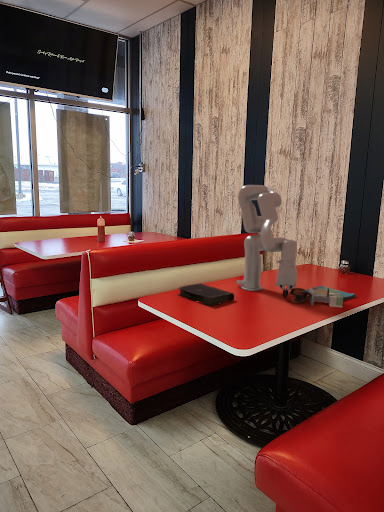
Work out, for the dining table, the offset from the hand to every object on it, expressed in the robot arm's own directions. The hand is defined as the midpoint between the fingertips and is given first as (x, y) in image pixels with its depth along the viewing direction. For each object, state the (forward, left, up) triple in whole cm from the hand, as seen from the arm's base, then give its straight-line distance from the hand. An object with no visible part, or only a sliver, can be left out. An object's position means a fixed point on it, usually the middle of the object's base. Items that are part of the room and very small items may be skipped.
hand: (285, 297), depth 204 cm
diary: (-42, -9, -2) cm, 43 cm away
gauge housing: (+25, 0, -2) cm, 25 cm away
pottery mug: (+7, 0, -2) cm, 8 cm away
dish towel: (+25, +19, -2) cm, 32 cm away
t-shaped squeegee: (+19, 0, -1) cm, 19 cm away
